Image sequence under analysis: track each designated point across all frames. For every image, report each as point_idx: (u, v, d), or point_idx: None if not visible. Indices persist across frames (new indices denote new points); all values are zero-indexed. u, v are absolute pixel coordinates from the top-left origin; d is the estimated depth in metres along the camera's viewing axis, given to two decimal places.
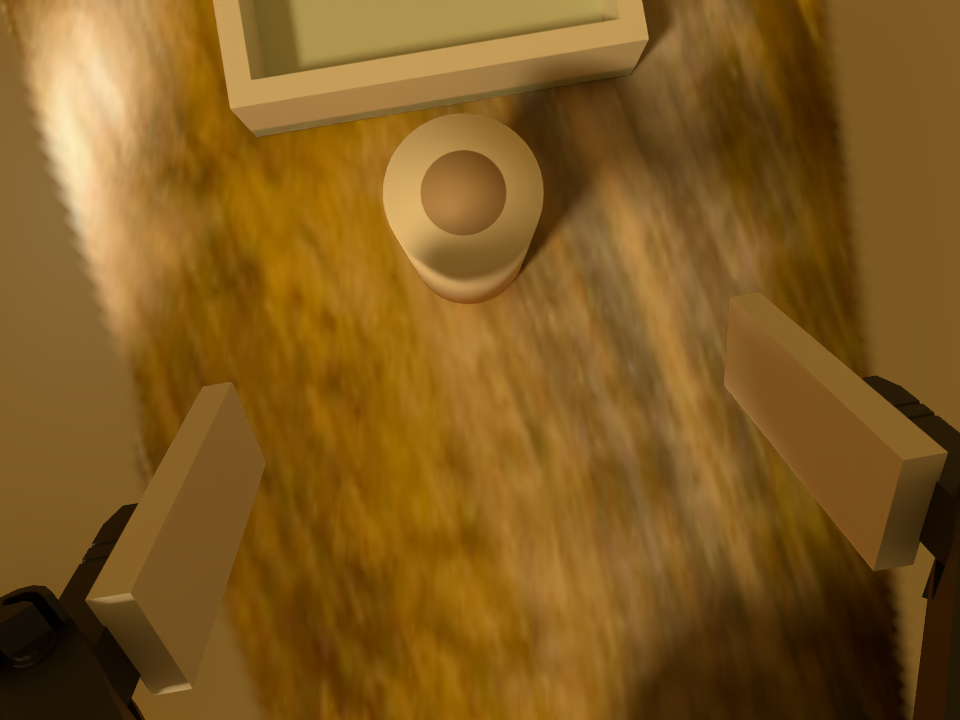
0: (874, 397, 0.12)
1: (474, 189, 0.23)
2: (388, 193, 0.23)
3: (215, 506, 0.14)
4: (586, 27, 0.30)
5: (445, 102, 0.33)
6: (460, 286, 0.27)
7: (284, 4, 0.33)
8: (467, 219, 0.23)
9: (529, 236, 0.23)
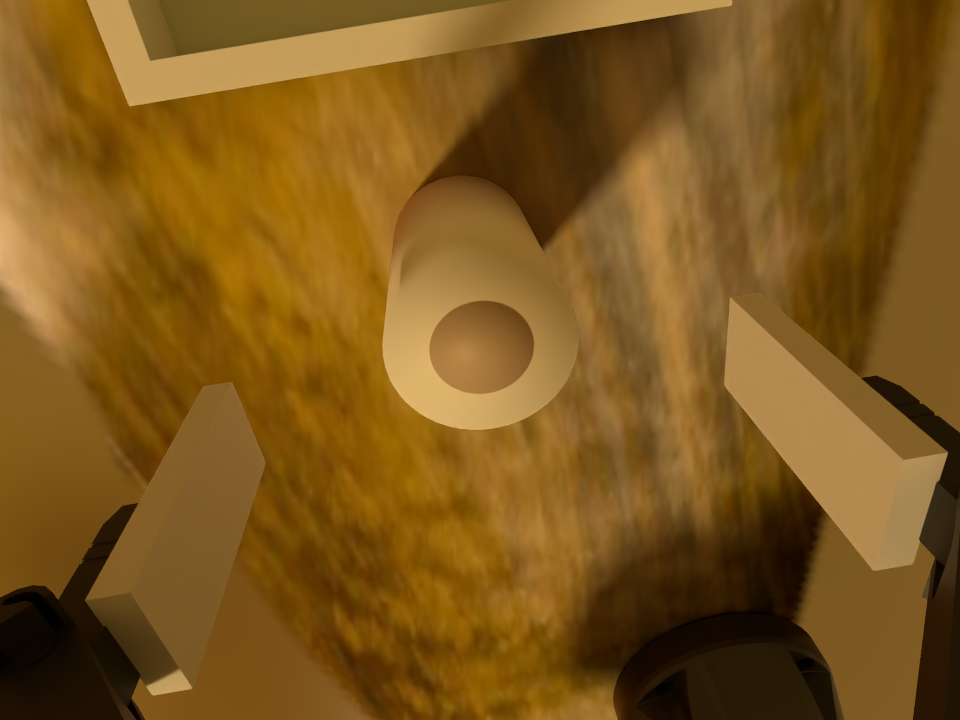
0: (874, 397, 0.12)
1: (495, 343, 0.19)
2: (389, 351, 0.19)
3: (215, 506, 0.14)
4: None
5: None
6: None
7: None
8: (485, 375, 0.19)
9: (556, 390, 0.20)
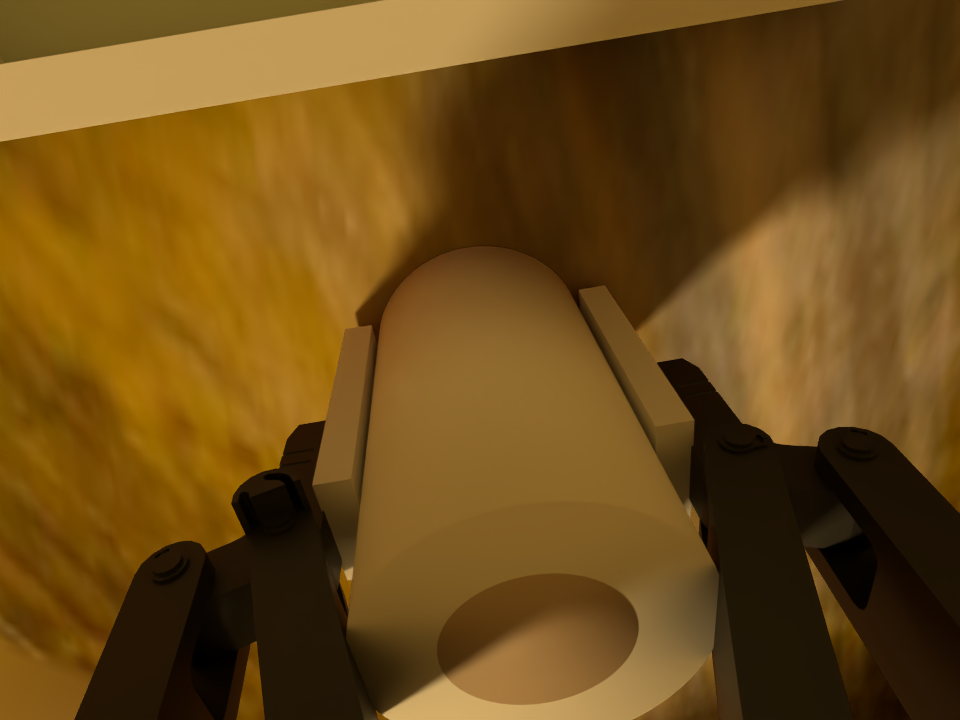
0: (657, 375, 0.13)
1: (563, 631, 0.10)
2: (359, 655, 0.10)
3: None
4: None
5: None
6: None
7: None
8: (542, 675, 0.10)
9: (669, 689, 0.11)
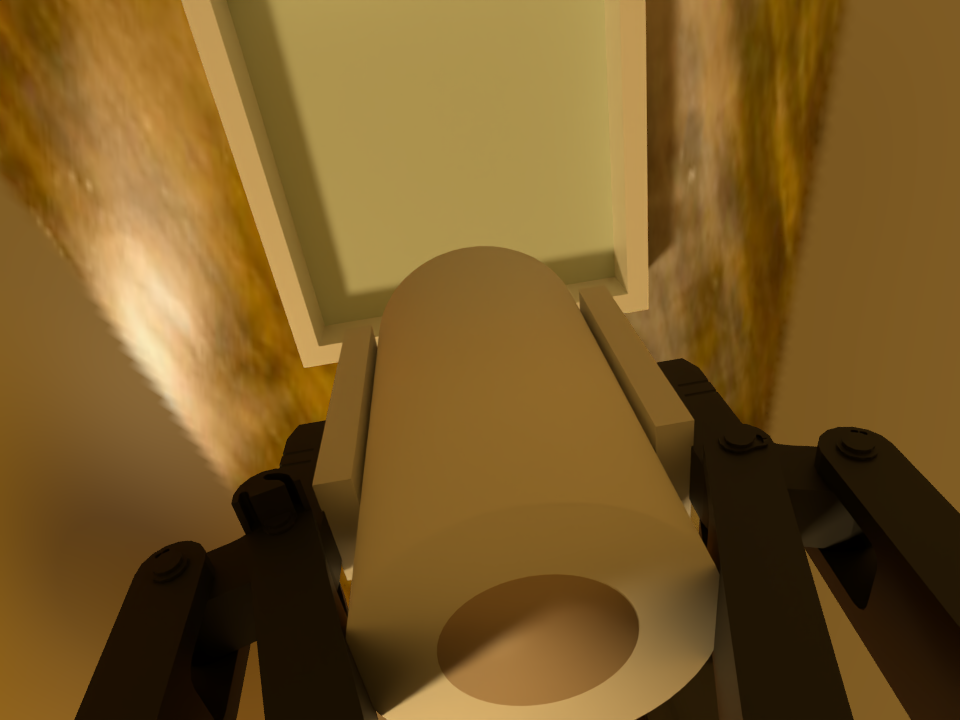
0: (657, 375, 0.13)
1: (563, 632, 0.10)
2: (358, 656, 0.10)
3: None
4: None
5: None
6: None
7: (328, 241, 0.35)
8: (542, 677, 0.10)
9: (670, 690, 0.11)
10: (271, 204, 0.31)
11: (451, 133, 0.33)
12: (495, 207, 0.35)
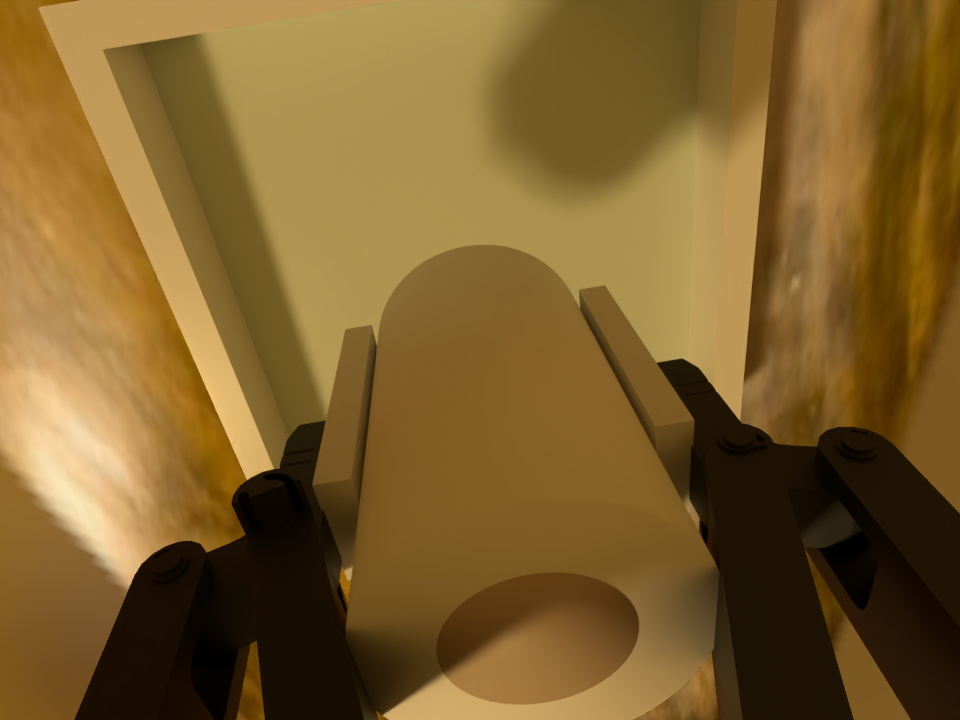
0: (657, 375, 0.13)
1: (563, 630, 0.10)
2: (358, 655, 0.10)
3: None
4: None
5: None
6: None
7: (306, 376, 0.26)
8: (541, 675, 0.10)
9: (670, 689, 0.11)
10: (221, 349, 0.22)
11: (474, 239, 0.24)
12: None
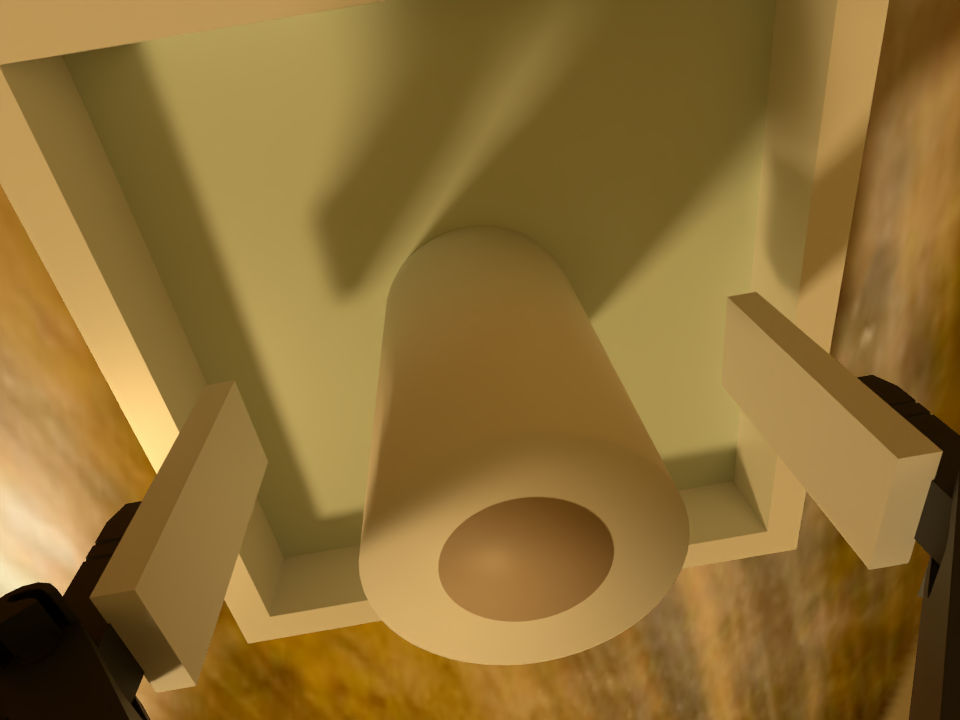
0: (870, 396, 0.12)
1: (548, 553, 0.11)
2: (370, 572, 0.11)
3: (218, 504, 0.14)
4: (720, 542, 0.22)
5: None
6: None
7: (284, 450, 0.22)
8: (530, 595, 0.12)
9: (644, 610, 0.12)
10: (174, 432, 0.18)
11: None
12: None
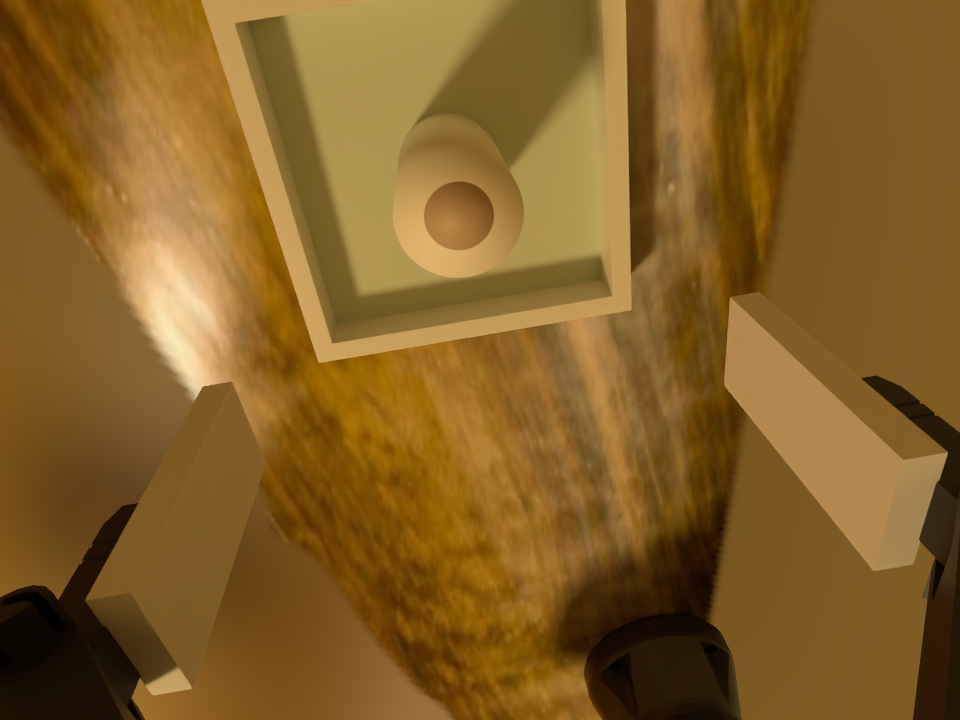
0: (874, 397, 0.12)
1: (467, 212, 0.28)
2: (397, 217, 0.28)
3: (215, 506, 0.14)
4: (586, 302, 0.39)
5: None
6: None
7: (341, 248, 0.39)
8: (462, 237, 0.29)
9: (510, 249, 0.29)
10: (291, 216, 0.35)
11: None
12: None
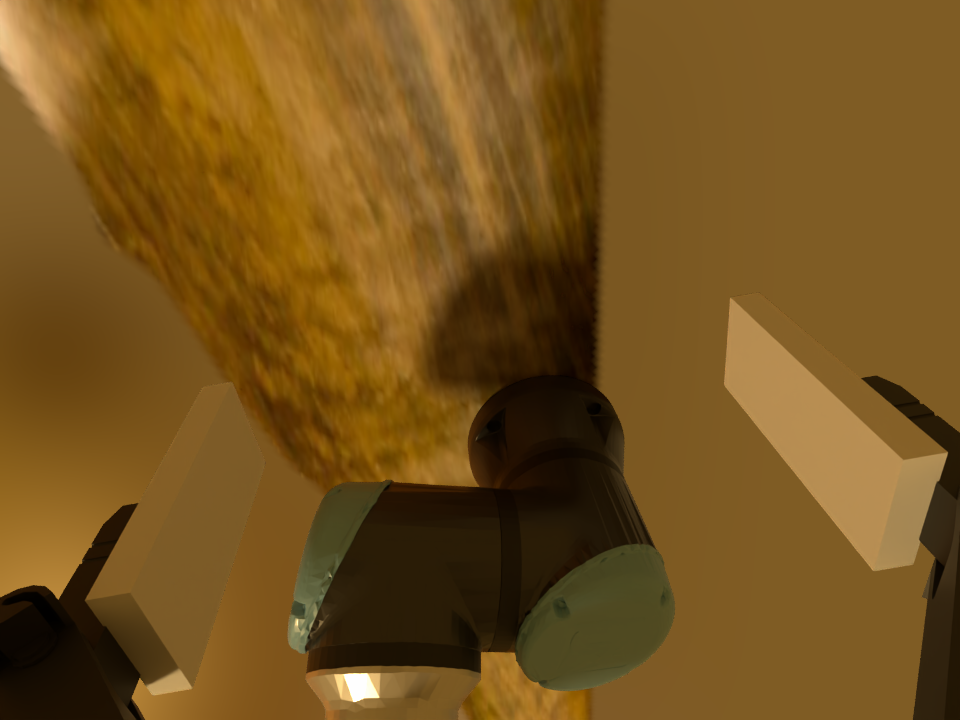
0: (874, 397, 0.12)
1: None
2: None
3: (215, 506, 0.14)
4: None
5: None
6: None
7: None
8: None
9: None
10: None
11: None
12: None
